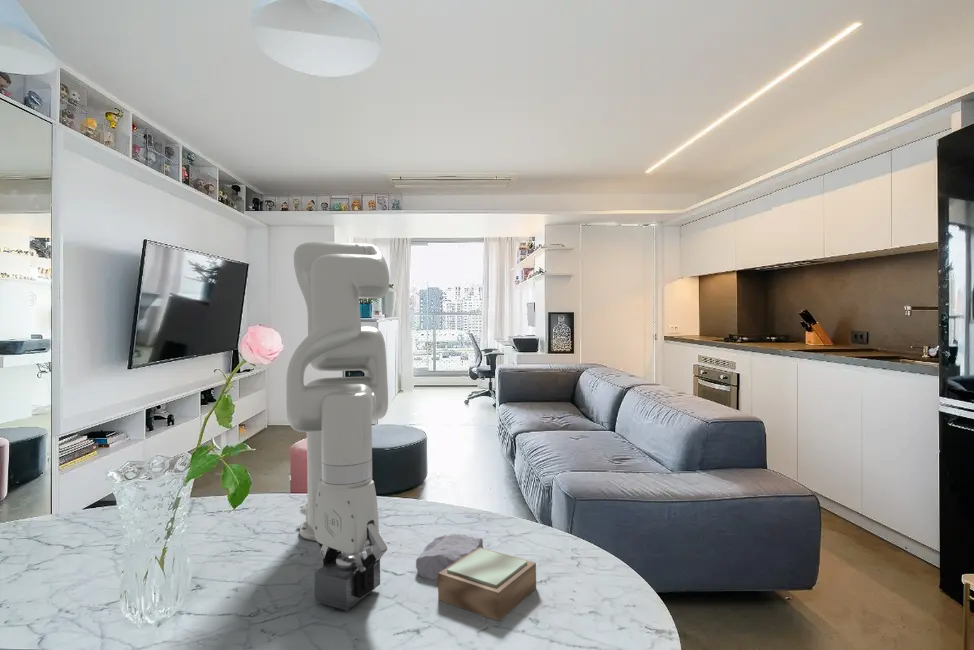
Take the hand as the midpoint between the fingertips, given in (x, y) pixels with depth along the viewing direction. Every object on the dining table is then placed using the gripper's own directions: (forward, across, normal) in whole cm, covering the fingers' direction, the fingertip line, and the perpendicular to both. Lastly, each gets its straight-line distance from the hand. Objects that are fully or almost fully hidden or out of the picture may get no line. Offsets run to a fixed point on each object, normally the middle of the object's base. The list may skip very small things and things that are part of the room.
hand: (348, 585), depth 79 cm
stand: (+2, +18, +13) cm, 22 cm away
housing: (+1, 0, 0) cm, 1 cm away
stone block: (+2, +6, +18) cm, 19 cm away
